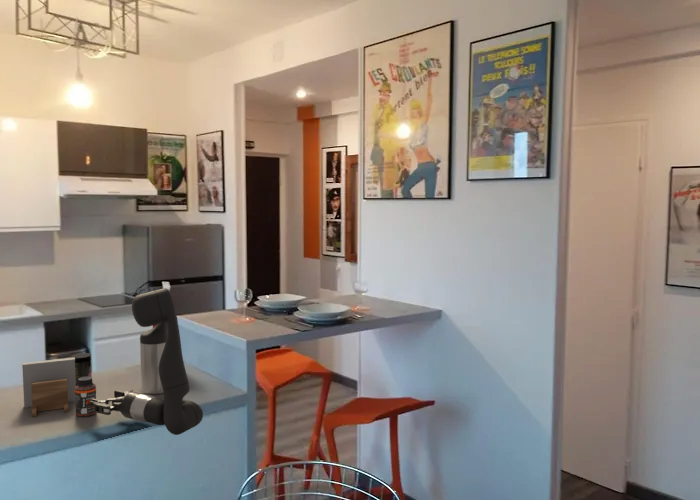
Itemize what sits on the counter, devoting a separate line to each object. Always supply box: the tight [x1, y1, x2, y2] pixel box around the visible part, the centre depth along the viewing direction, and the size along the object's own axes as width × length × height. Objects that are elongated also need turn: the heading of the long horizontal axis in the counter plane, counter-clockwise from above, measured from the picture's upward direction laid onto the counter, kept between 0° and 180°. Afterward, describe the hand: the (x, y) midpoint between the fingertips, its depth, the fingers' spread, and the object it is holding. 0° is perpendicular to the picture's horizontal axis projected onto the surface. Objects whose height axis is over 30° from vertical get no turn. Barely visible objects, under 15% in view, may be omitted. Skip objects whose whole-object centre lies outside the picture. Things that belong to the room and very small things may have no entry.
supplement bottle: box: [74, 376, 97, 418], centre depth 181 cm, size 6×6×11 cm
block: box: [31, 378, 69, 417], centre depth 183 cm, size 6×10×9 cm, turn 117°
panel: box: [21, 357, 76, 409], centre depth 190 cm, size 2×15×14 cm, turn 116°
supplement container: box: [70, 352, 93, 386], centre depth 210 cm, size 7×7×10 cm
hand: (103, 397), depth 177 cm, fingers open, 8 cm apart
